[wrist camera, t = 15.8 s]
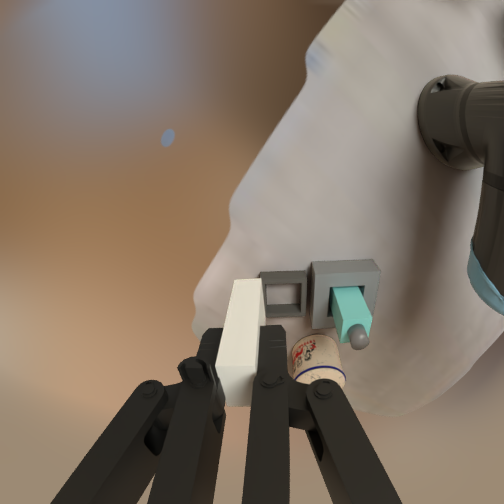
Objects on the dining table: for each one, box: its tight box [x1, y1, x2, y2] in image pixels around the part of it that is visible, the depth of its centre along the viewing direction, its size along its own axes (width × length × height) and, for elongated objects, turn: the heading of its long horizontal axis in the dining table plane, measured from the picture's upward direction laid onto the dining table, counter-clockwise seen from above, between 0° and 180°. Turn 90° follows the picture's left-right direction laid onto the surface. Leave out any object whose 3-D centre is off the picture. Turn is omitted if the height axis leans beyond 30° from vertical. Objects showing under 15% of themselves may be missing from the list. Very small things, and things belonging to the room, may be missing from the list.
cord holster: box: [260, 271, 307, 317], centre depth 45 cm, size 7×7×2 cm
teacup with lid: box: [292, 335, 346, 389], centre depth 46 cm, size 12×9×12 cm
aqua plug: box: [329, 286, 372, 350], centre depth 39 cm, size 4×4×14 cm
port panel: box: [310, 259, 381, 329], centre depth 43 cm, size 10×10×4 cm
